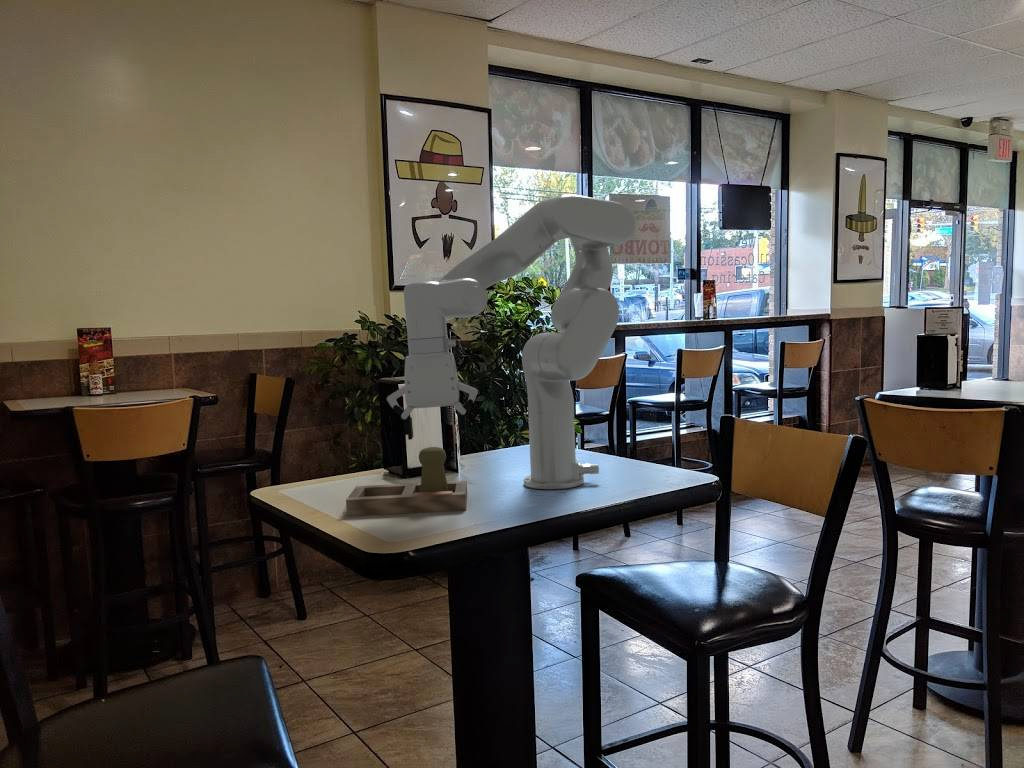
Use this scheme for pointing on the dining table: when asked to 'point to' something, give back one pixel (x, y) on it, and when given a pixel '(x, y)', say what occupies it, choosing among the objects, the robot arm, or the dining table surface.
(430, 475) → the olive tall rounded piece
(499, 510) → the dining table surface
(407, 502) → the caddy
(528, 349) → the robot arm
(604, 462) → the dining table surface
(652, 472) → the dining table surface
